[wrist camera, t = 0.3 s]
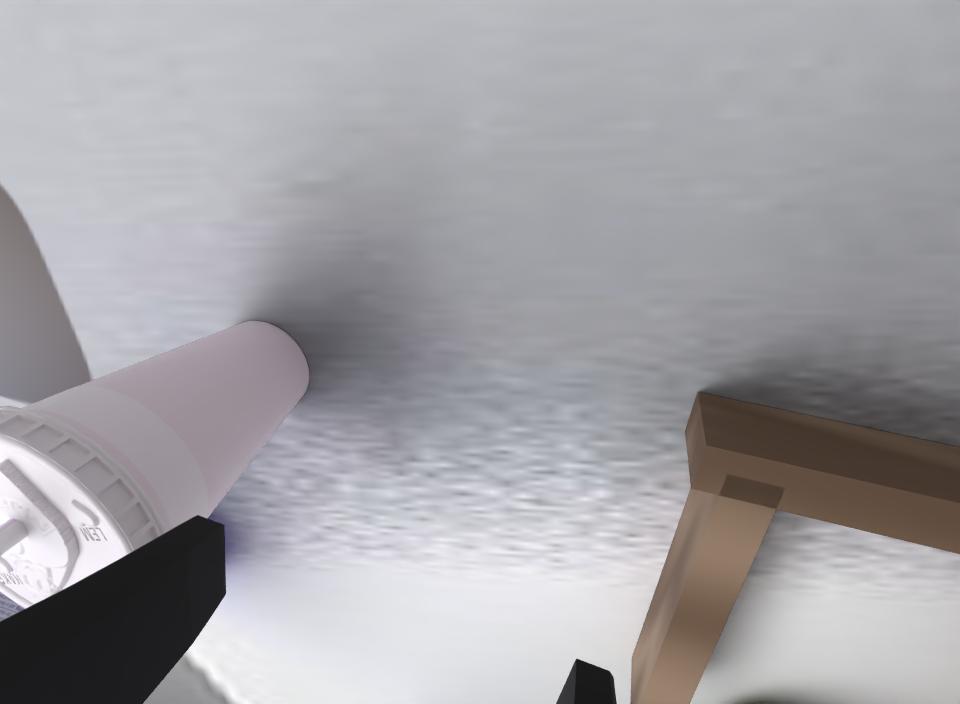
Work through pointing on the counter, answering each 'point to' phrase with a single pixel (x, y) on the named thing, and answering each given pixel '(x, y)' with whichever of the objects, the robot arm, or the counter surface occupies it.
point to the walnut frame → (750, 508)
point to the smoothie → (136, 453)
